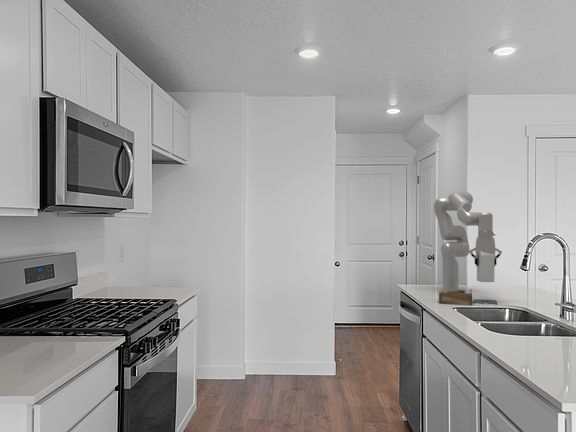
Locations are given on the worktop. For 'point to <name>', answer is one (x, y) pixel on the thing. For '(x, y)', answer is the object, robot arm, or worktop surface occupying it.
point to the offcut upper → (456, 291)
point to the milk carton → (485, 267)
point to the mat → (485, 301)
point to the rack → (455, 298)
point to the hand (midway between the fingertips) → (485, 265)
